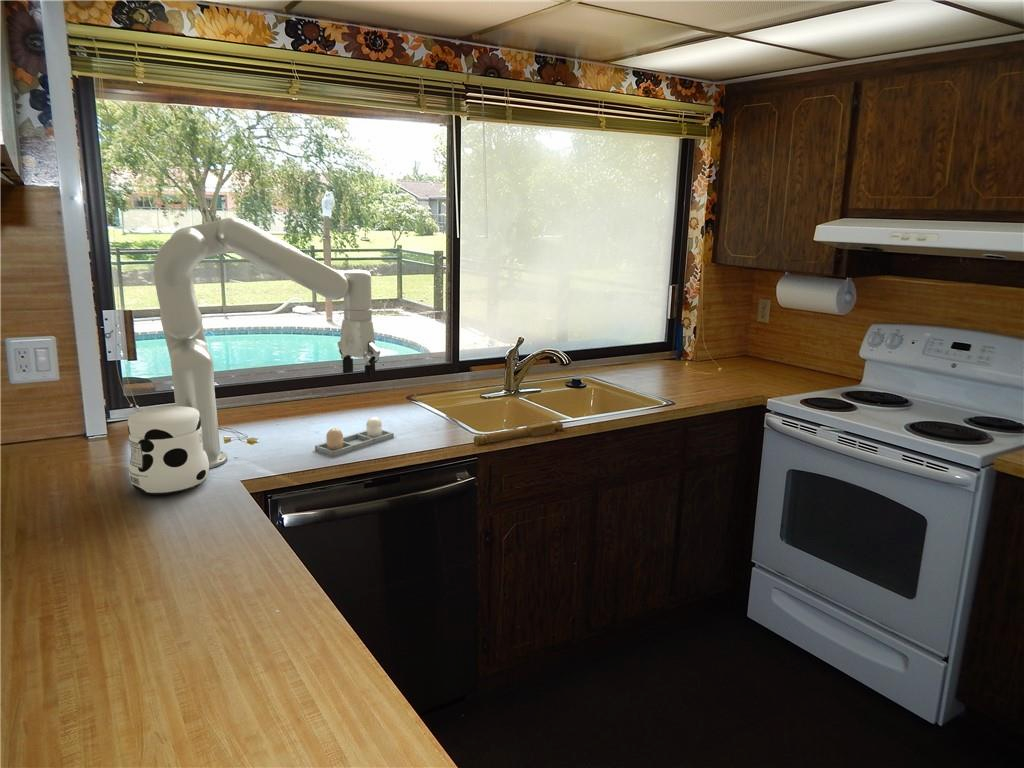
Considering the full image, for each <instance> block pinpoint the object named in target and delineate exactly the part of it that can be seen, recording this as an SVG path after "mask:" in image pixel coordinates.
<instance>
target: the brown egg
mask: <svg viewBox="0 0 1024 768" xmlns="http://www.w3.org/2000/svg"><path fill="white" fill-rule="evenodd" d="M325 437H326V442H327V449H329V450H331V451H335V450H338V449H341V448H343V437H344V434H343V432H342V431H341V430H340V429H339V428H336V427H334V428H331V429H329V430H328V431H327V433H326V436H325Z"/></svg>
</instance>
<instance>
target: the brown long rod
mask: <svg viewBox="0 0 1024 768" xmlns="http://www.w3.org/2000/svg"><path fill="white" fill-rule="evenodd" d="M562 429H564V425H563V422H562V421H559V420H557V421H556V422H553V421H551V420H549V421H548V420H547V421H541V422H536V423H529V424H526V427H525V426H524V427H523V428H518V429H512V430H505V431H504V430H503V431H497V432H489V433H485V434H484V435H483V434H479V435H475V436H473V444H474V445H475V446H481V445H482V446H483V445H484V444H492V443H497V442H502V441H507V440H511V439H514V438H515V439H516V438H520V437H528V436H529V437H537V436H543V435H547V434H553V433H555V431H561V430H562Z"/></svg>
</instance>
